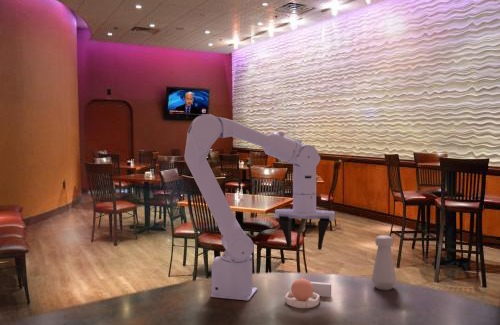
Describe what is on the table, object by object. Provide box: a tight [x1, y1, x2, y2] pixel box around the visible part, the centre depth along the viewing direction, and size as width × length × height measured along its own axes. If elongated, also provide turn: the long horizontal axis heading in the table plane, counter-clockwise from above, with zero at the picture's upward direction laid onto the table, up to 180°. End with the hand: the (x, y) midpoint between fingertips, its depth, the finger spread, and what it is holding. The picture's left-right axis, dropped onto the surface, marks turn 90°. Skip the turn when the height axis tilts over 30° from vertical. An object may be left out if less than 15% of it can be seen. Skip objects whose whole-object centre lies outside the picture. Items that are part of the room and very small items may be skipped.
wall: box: [309, 281, 332, 298], centre depth 111 cm, size 8×1×3 cm, turn 74°
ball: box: [290, 278, 313, 301], centre depth 107 cm, size 5×5×5 cm
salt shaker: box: [371, 234, 397, 291], centre depth 116 cm, size 6×6×13 cm
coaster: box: [284, 291, 321, 309], centre depth 107 cm, size 8×8×1 cm
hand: (304, 247), depth 115 cm, fingers open, 7 cm apart
